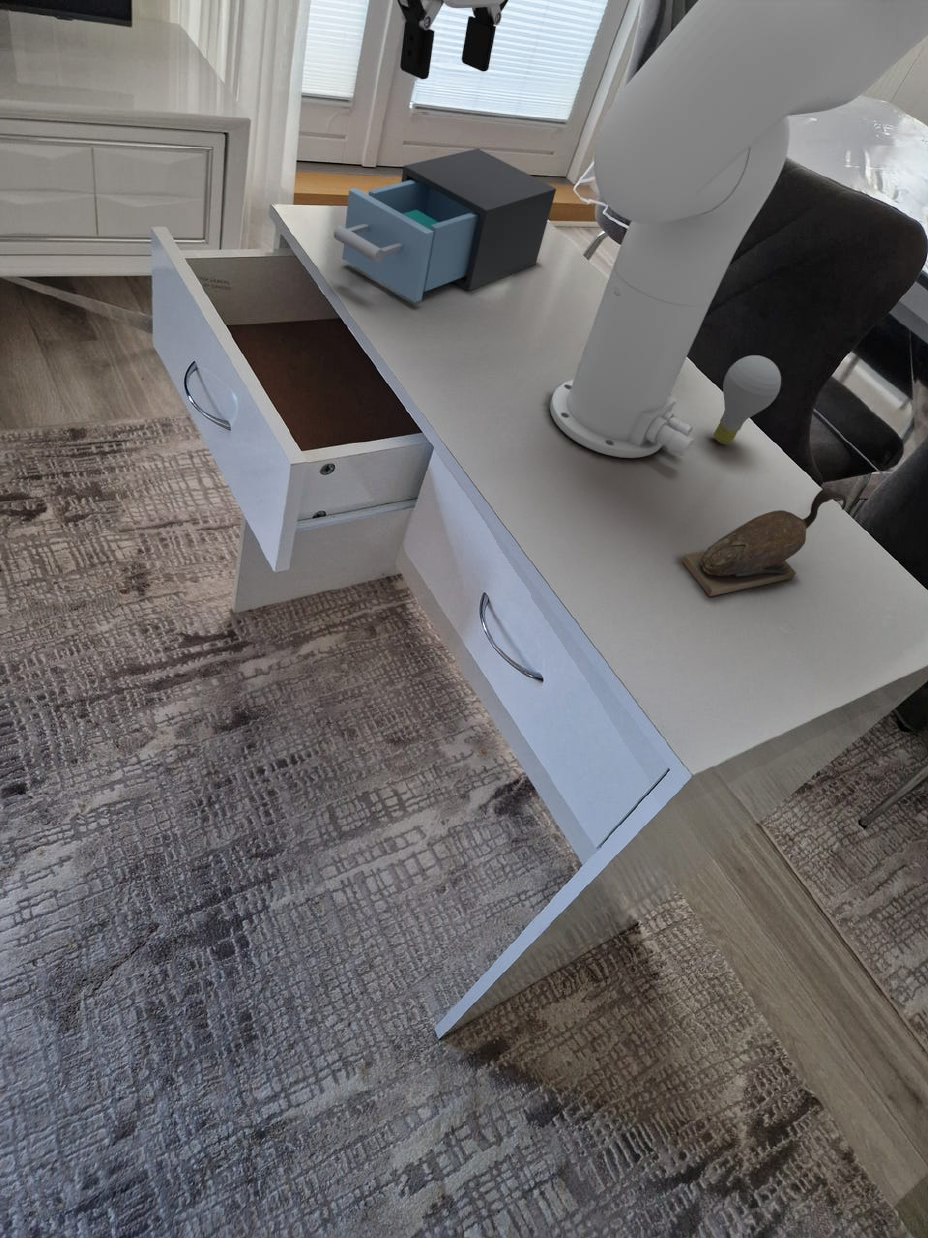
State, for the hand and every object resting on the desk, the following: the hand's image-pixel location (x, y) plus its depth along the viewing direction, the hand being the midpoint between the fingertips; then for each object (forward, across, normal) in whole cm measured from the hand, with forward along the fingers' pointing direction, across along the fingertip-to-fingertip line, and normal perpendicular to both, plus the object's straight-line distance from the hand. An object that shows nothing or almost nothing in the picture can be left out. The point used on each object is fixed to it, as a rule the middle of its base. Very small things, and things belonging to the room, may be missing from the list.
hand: (445, 70), depth 82 cm
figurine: (+23, -12, -52) cm, 58 cm away
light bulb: (+23, +3, -41) cm, 47 cm away
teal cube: (+20, 0, +1) cm, 20 cm away
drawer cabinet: (+22, +11, +1) cm, 24 cm away
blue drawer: (+21, -1, +1) cm, 21 cm away
